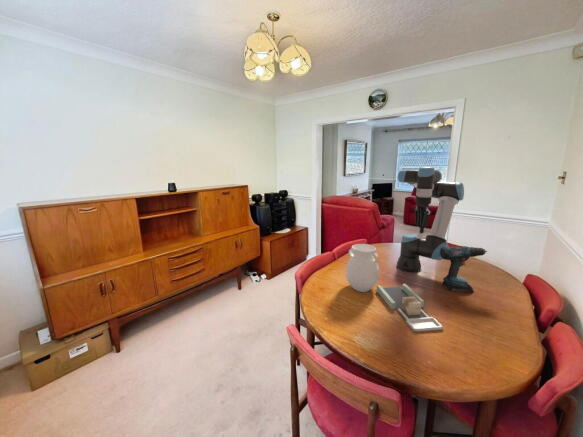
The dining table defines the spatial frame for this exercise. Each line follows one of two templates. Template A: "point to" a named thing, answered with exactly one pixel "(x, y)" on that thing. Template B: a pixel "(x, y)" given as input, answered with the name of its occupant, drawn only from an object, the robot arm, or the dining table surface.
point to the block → (411, 305)
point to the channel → (391, 301)
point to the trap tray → (424, 324)
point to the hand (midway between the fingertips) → (419, 238)
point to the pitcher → (362, 267)
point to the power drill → (458, 266)
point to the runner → (397, 296)
